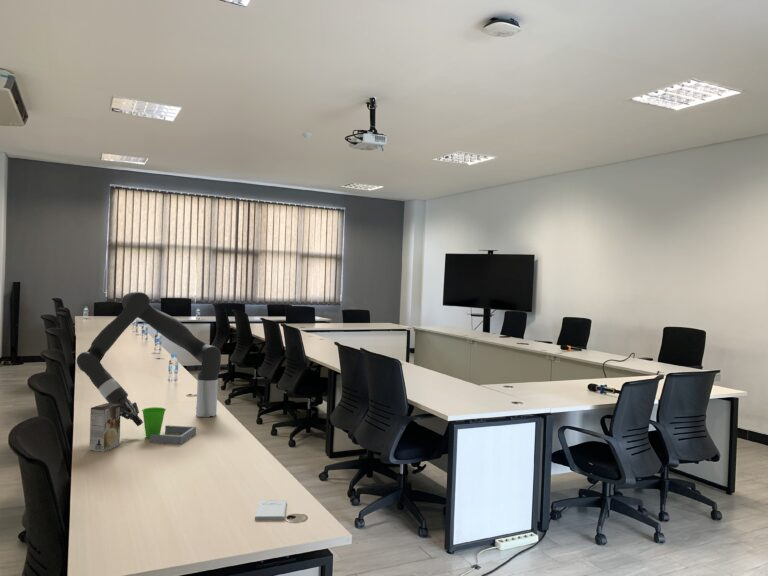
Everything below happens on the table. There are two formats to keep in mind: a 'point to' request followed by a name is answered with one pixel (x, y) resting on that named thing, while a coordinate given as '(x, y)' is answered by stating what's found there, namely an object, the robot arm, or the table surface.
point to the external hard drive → (271, 510)
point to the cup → (153, 420)
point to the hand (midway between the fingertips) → (140, 424)
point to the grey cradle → (173, 439)
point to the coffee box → (105, 427)
